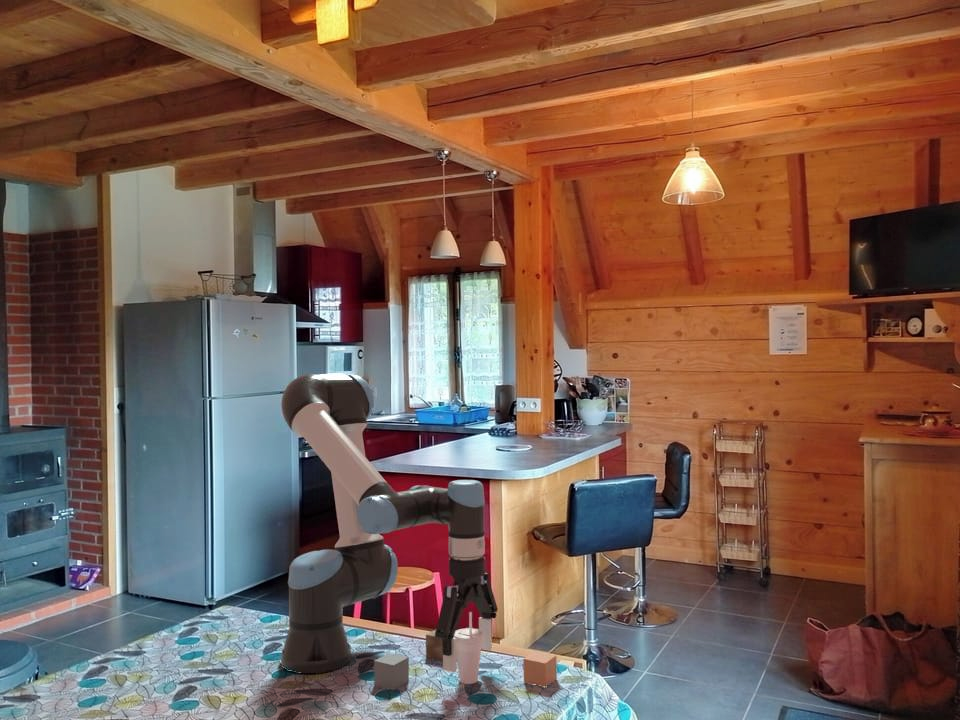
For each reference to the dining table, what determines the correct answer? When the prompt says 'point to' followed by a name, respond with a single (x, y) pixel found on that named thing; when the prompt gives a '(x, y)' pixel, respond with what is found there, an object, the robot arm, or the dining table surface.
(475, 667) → the smoothie
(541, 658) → the terracotta block
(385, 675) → the grey cube
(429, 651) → the walnut block
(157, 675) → the dining table surface
